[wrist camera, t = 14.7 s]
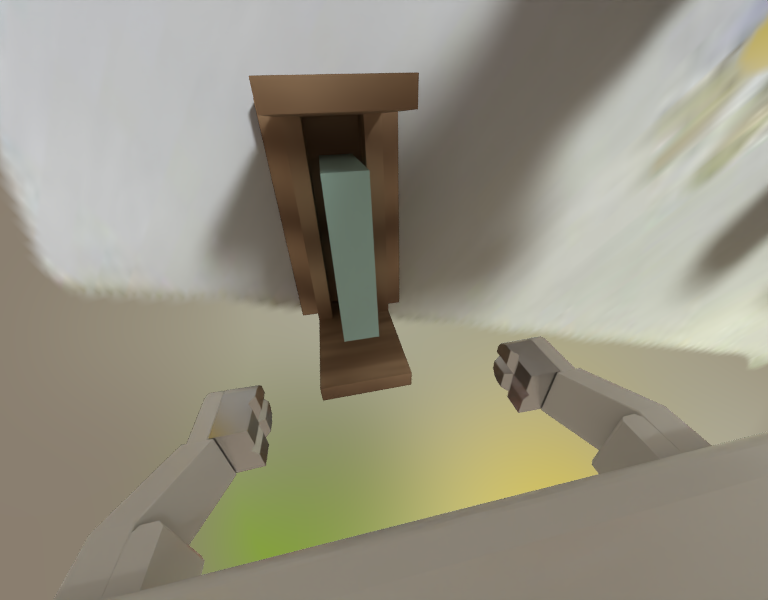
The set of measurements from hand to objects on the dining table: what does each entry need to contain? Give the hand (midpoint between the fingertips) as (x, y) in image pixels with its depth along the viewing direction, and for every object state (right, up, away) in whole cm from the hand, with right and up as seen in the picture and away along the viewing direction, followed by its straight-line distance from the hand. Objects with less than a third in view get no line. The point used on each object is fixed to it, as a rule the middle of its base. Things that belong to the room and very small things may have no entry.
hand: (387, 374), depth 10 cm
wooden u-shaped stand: (-4, +10, +16) cm, 19 cm away
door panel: (-4, +9, +15) cm, 18 cm away
